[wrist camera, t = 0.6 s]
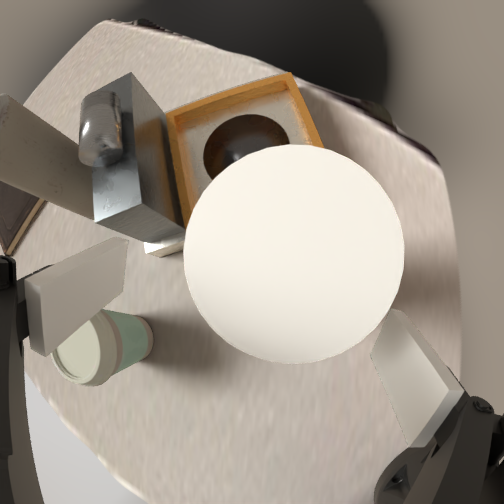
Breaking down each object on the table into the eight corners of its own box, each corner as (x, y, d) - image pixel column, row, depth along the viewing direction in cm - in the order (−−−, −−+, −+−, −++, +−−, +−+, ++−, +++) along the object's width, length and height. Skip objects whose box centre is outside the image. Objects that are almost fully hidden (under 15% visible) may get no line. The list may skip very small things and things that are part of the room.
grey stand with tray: (335, 204, 35) (353, 121, 18) (159, 257, 38) (61, 224, 21) (289, 87, 38) (272, -14, 21) (142, 138, 41) (71, 69, 24)
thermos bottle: (82, 227, 41) (-81, 162, 14) (80, 179, 42) (-59, 98, 15) (124, 209, 40) (-48, 116, 13) (121, 160, 41) (-20, 52, 14)
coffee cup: (100, 317, 38) (36, 318, 26) (149, 294, 37) (87, 288, 25) (122, 377, 36) (61, 396, 24) (174, 359, 35) (118, 378, 24)
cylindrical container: (304, 241, 35) (286, 110, 10) (350, 286, 33) (444, 244, 9) (259, 287, 35) (144, 252, 10) (305, 333, 33) (291, 408, 9)
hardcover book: (25, 131, 50) (18, 127, 47) (56, 189, 44) (47, 184, 42) (-13, 188, 50) (-20, 185, 48) (12, 257, 44) (3, 255, 42)
